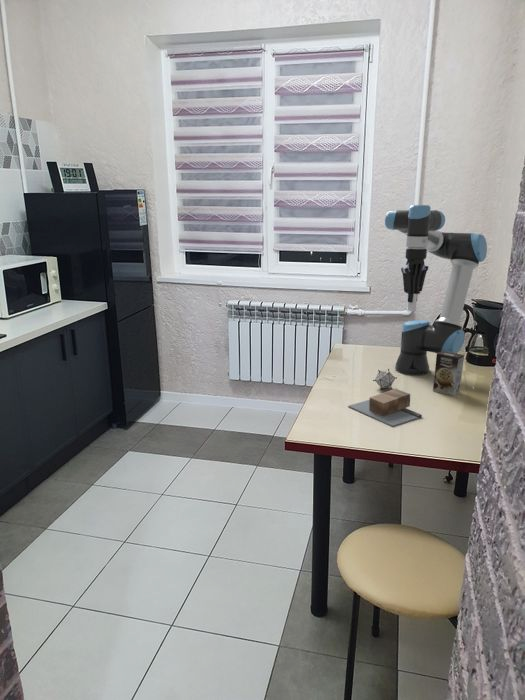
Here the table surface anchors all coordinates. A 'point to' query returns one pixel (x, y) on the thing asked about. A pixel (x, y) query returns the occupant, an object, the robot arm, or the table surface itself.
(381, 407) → the walnut block
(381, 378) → the game die
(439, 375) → the coffee box
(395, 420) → the grey flat panel
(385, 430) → the table surface
